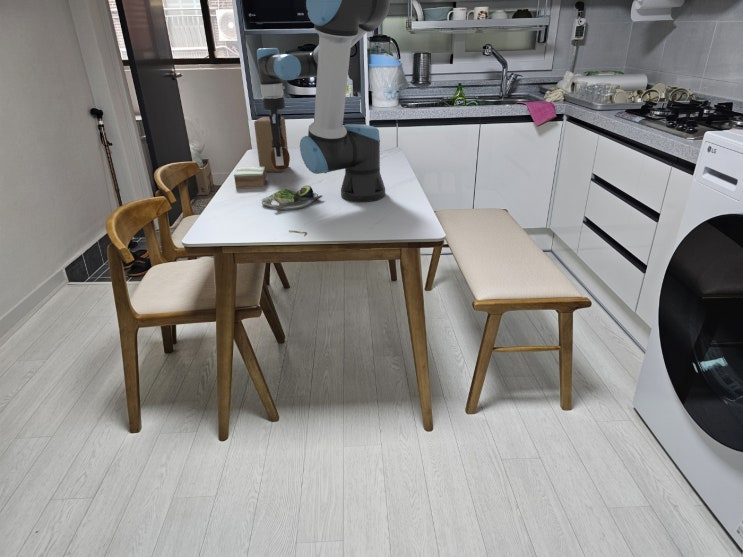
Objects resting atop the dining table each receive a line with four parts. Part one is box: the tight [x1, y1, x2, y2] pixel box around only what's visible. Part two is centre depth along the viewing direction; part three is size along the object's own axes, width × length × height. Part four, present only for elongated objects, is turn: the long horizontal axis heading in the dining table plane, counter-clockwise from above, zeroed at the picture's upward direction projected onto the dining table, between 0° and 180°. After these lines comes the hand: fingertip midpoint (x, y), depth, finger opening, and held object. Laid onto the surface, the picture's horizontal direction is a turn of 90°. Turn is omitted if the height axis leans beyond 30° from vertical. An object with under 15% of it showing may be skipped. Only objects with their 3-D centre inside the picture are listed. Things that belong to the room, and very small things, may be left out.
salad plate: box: [261, 185, 323, 211], centre depth 158 cm, size 19×18×5 cm
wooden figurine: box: [271, 128, 291, 170], centre depth 176 cm, size 7×6×15 cm
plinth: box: [233, 166, 267, 189], centre depth 179 cm, size 10×10×5 cm
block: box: [253, 116, 289, 173], centre depth 194 cm, size 10×10×20 cm
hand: (280, 162), depth 179 cm, fingers closed on wooden figurine, 7 cm apart
